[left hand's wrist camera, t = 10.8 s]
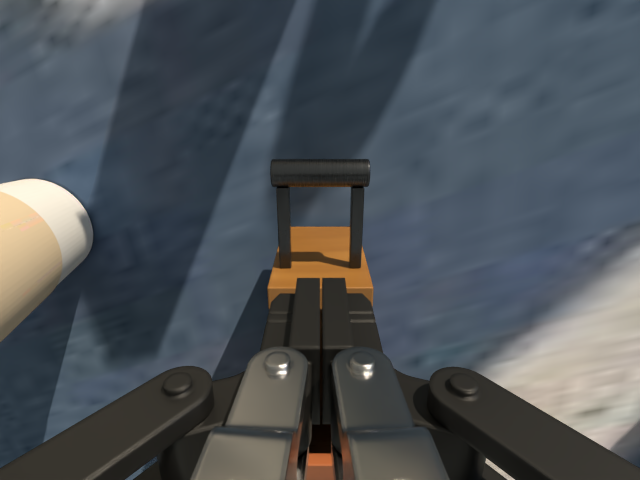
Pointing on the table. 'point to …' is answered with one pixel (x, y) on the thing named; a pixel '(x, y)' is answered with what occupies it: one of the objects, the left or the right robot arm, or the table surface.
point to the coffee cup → (37, 245)
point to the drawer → (320, 243)
